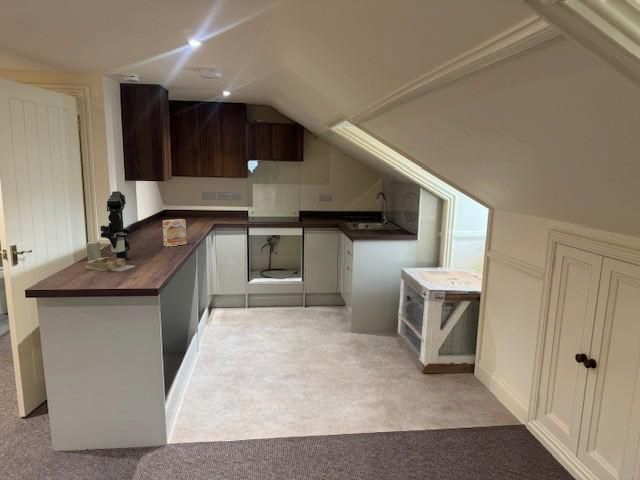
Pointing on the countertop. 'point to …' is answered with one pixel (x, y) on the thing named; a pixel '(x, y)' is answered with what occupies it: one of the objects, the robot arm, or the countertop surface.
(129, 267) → the grey mat
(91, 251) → the skincare box
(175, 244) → the coffeecake box
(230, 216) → the countertop surface
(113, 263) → the wooden frame
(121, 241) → the sage box
